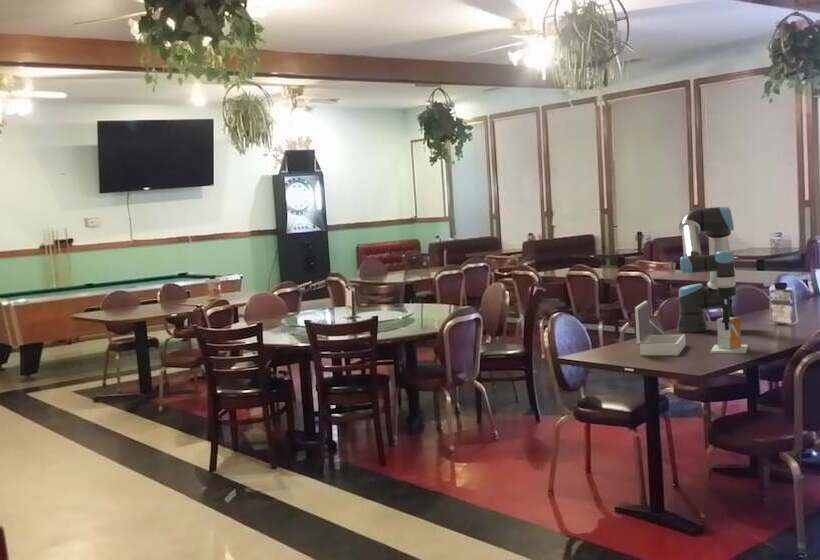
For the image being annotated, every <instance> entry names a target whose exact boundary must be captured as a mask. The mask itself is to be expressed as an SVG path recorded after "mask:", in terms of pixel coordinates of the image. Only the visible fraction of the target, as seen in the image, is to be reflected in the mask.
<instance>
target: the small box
mask: <svg viewBox="0 0 820 560" xmlns="http://www.w3.org/2000/svg"><path fill="white" fill-rule="evenodd" d="M722 321H723V317H720V318H716V328H717V332H716V333H717V345H718V348H723V349H732V348H737V347H741V345H742V336H741V334H742V333H741V317H737V316H734V317H730V328H731V338H724V326H723V323H722Z"/></svg>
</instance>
